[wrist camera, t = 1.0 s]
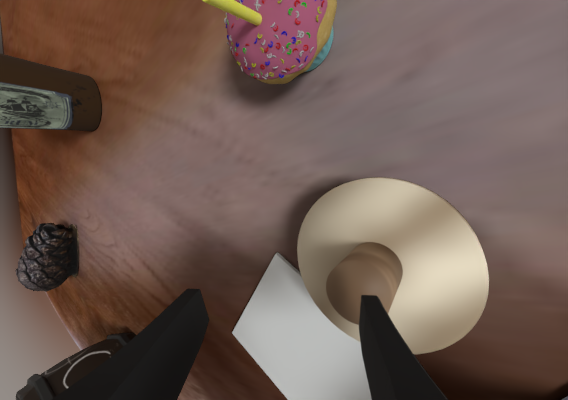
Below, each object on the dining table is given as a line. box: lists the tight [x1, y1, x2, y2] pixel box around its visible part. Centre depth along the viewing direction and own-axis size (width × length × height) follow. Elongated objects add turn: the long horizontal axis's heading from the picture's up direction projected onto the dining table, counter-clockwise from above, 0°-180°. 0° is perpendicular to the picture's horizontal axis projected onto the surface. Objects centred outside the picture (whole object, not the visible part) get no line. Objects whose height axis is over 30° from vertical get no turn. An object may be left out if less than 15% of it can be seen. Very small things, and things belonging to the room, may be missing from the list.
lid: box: [297, 177, 489, 354], centre depth 16 cm, size 12×12×5 cm
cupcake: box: [202, 0, 337, 84], centre depth 16 cm, size 9×8×12 cm
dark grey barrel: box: [16, 333, 136, 400], centre depth 44 cm, size 18×18×16 cm
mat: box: [232, 252, 372, 400], centre depth 26 cm, size 17×14×1 cm
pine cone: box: [16, 223, 79, 291], centre depth 58 cm, size 10×18×10 cm, turn 162°
